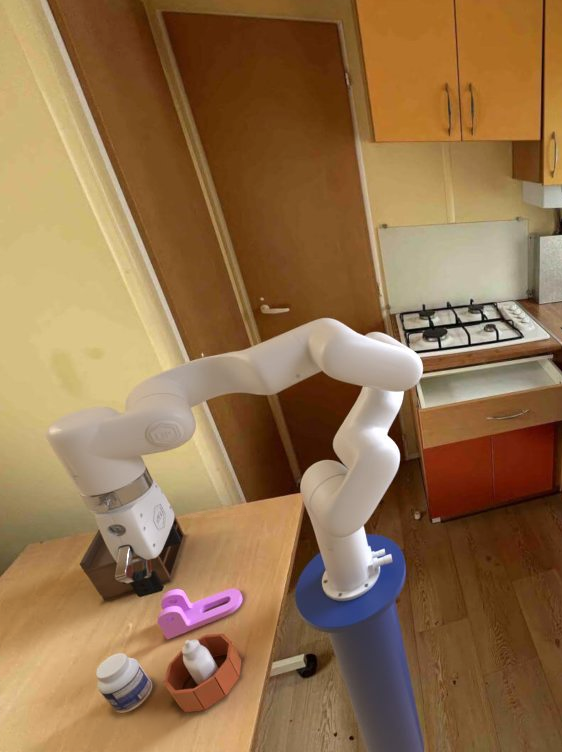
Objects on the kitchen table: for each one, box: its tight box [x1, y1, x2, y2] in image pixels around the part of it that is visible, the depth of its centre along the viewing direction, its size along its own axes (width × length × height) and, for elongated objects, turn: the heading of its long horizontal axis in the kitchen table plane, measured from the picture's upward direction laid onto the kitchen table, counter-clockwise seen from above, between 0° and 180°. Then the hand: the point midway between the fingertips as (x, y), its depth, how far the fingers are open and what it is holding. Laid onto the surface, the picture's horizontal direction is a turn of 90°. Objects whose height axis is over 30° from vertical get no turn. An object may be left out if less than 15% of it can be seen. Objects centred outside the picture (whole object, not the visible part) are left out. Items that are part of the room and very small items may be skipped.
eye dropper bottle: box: [181, 638, 220, 687], centre depth 75 cm, size 4×6×12 cm
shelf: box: [79, 516, 186, 602], centre depth 97 cm, size 12×14×12 cm
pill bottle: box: [95, 652, 153, 714], centre depth 73 cm, size 5×5×10 cm
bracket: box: [156, 588, 243, 641], centre depth 88 cm, size 13×6×7 cm, turn 119°
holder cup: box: [163, 632, 242, 713], centre depth 76 cm, size 10×10×6 cm
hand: (161, 567), depth 69 cm, fingers open, 9 cm apart
